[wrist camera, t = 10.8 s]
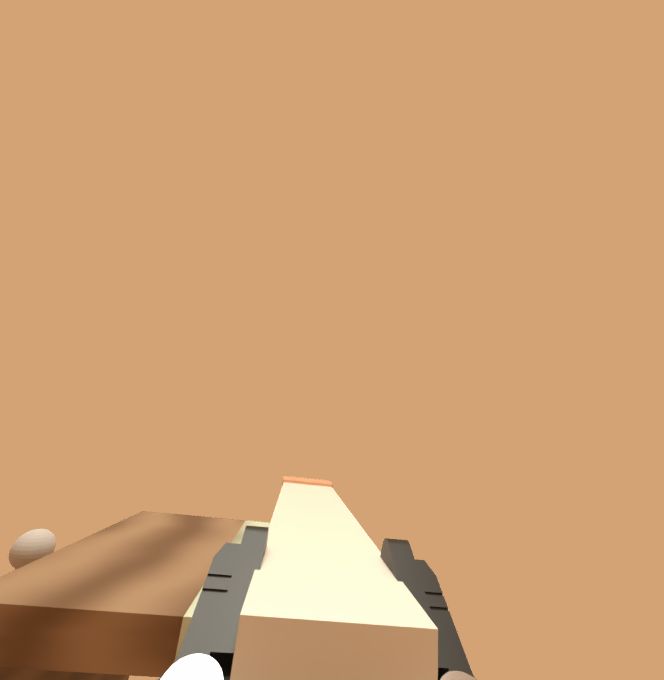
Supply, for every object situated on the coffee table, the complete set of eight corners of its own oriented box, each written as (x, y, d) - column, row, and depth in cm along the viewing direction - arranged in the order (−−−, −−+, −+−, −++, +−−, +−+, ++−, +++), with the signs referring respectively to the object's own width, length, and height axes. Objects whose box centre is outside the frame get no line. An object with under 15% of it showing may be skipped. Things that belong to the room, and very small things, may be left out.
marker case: (200, 827, 6) (236, 602, 7) (279, 514, 29) (284, 475, 30) (442, 836, 6) (442, 617, 7) (325, 518, 30) (329, 480, 31)
